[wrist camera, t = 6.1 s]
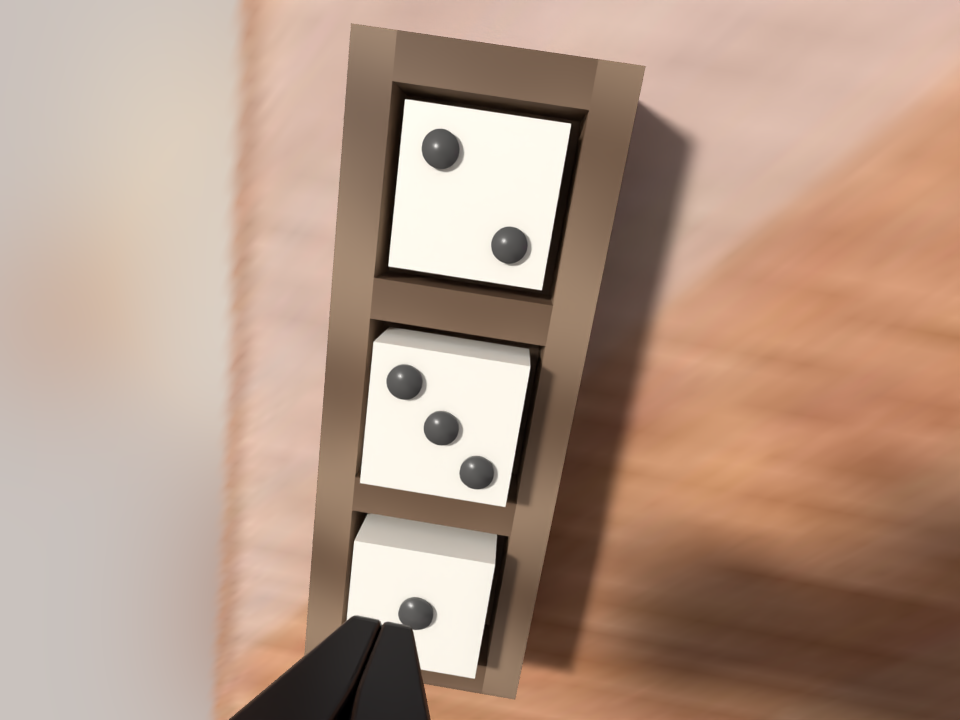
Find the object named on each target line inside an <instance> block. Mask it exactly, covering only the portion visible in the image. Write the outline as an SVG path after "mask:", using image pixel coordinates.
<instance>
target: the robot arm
mask: <svg viewBox="0 0 960 720" xmlns="http://www.w3.org/2000/svg"><path fill="white" fill-rule="evenodd" d="M229 720H431V719H430V714H429V709H428V704H427V699H426V693H425V688H424V683H423V678H422V673H421V668H420V663H419V658H418V652H417V647H416V642H415V637H414V632H413V629H412V628H411V627H410V626H408V625H404V624H399V623H394V622H389V621H387V622H384V623H383V625H382V624H381V621H380V620H378V619H374V618H369V617H364V616H359V615H354V616H352V617H350V618H349V619H348V620H347V621H345V622H344V623H343V624H342V625H341V626H339V627H338V628H337V629H336V630H335V631H334V632H332V633H331V634H330V635H329V636H328V637H326V638H325V639H324V640H323V641H322V642H320V643H319V644H318V645H317V646H316V647H315V648H313V649H312V650H311V651H310V652H309V653H307V654H306V655H305V656H304V657H303V658H301V659H300V660H299V661H298V662H297V663H296V664H294V665H293V666H292V667H291V668H290V669H288V670H287V671H286V672H285V673H284V674H282V675H281V676H280V677H279V678H278V679H277V680H275V681H274V682H273V683H272V684H271V685H269V686H268V687H267V688H266V689H265V690H263V691H262V692H261V693H260V694H259V695H258V696H256V697H255V698H254V699H253V700H252V701H250V702H249V703H248V704H247V705H246V706H244V707H243V708H242V709H241V710H240V711H239V712H237V713H236V714H235V715H234V716H233V717H231V718H230V719H229Z"/></svg>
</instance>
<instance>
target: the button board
mask: <svg viewBox="0 0 960 720" xmlns="http://www.w3.org/2000/svg"><path fill="white" fill-rule="evenodd" d="M644 71H645V66H641V65H634V64H628V63H621V62H614V61H607V60H600V59H593V58H586V57H579V56H572V55H565V54H559V53H552V52H545V51H538V50H531V49H524V48H517V47H510V46H503V45H497V44H490V43H483V42H476V41H469V40H462V39H455V38H448V37H441V36H434V35H428V34H421V33H414V32H407V31H400V30H393V29H386V28H379V27H372V26H366V25H359V24H352V23H351V32H350V45H349V59H348V73H347V86H346V100H345V113H344V127H343V140H342V154H341V168H340V181H339V195H338V208H337V222H336V235H335V249H334V262H333V276H332V290H331V303H330V317H329V330H328V344H327V357H326V371H325V385H324V398H323V412H322V425H321V439H320V452H319V466H318V480H317V493H316V507H315V520H314V534H313V547H312V561H311V575H310V588H309V602H308V615H307V629H306V642H305V655H306V654H307V653H309V652H310V651H311V650H312V649H313V648H315V647H316V646H317V645H318V644H319V643H320V642H322V641H323V640H324V639H325V638H326V637H328V636H329V635H330V634H331V633H332V632H334V631H335V630H336V629H337V628H338V627H339V626H341V625H342V624H343V623H344V622H345V621H347V611H348V601H349V590H350V580H351V570H352V559H353V549H354V540H355V538H356V536H357V534H358V532H359V530H360V528H361V526H362V524H363V522H364V520H365V518H366V516H367V514H368V513H371V514H377V515H383V516H389V517H395V518H401V519H407V520H413V521H419V522H425V523H431V524H437V525H443V526H449V527H455V528H461V529H467V530H473V531H479V532H485V533H491V534H497V543H496V559H495V568H494V574H493V579H492V585H491V590H490V596H489V602H488V607H487V613H486V618H485V624H484V630H483V635H482V641H481V646H480V652H479V658H478V663H477V669H476V674H475V679H473V678H468V677H462V676H456V675H450V674H444V673H439V672H433V671H427V670H421V673H422V678H423V683H424V684H429V685H434V686H440V687H446V688H451V689H457V690H463V691H469V692H474V693H480V694H486V695H492V696H497V697H503V698H509V699H515V698H516V693H517V688H518V684H519V679H520V674H521V669H522V664H523V659H524V654H525V650H526V645H527V640H528V635H529V630H530V625H531V620H532V616H533V611H534V606H535V601H536V596H537V591H538V586H539V582H540V577H541V572H542V567H543V562H544V557H545V552H546V548H547V543H548V538H549V533H550V528H551V523H552V518H553V513H554V509H555V504H556V499H557V494H558V489H559V484H560V479H561V475H562V470H563V465H564V460H565V455H566V450H567V445H568V441H569V436H570V431H571V426H572V421H573V416H574V411H575V407H576V402H577V397H578V392H579V387H580V382H581V377H582V373H583V368H584V363H585V358H586V353H587V348H588V343H589V339H590V334H591V329H592V324H593V319H594V314H595V309H596V305H597V300H598V295H599V290H600V285H601V280H602V275H603V271H604V266H605V261H606V256H607V251H608V246H609V241H610V237H611V232H612V227H613V222H614V217H615V212H616V207H617V202H618V198H619V193H620V188H621V183H622V178H623V173H624V168H625V164H626V159H627V154H628V149H629V144H630V139H631V134H632V130H633V125H634V120H635V115H636V110H637V105H638V100H639V96H640V91H641V86H642V81H643V76H644ZM405 99H408V100H414V101H421V102H428V103H435V104H441V105H448V106H455V107H462V108H468V109H475V110H482V111H489V112H495V113H502V114H509V115H516V116H522V117H529V118H536V119H543V120H549V121H556V122H563V123H570V124H571V128H570V134H569V140H568V145H567V151H566V156H565V162H564V168H563V173H562V179H561V185H560V190H559V196H558V202H557V207H556V213H555V218H554V224H553V230H552V235H551V241H550V247H549V252H548V258H547V264H546V269H545V275H544V281H543V286H542V290H537V289H531V288H524V287H518V286H511V285H505V284H499V283H492V282H486V281H479V280H473V279H466V278H460V277H454V276H447V275H441V274H434V273H428V272H421V271H415V270H409V269H402V268H396V267H389V266H388V264H389V254H390V244H391V234H392V224H393V214H394V205H395V195H396V185H397V175H398V165H399V155H400V145H401V135H402V125H403V115H404V105H405ZM389 327H395V328H401V329H407V330H414V331H420V332H426V333H432V334H439V335H445V336H451V337H458V338H464V339H470V340H477V341H483V342H489V343H496V344H502V345H508V346H515V347H521V348H527V349H529V354H530V372H529V377H528V383H527V389H526V394H525V400H524V405H523V411H522V417H521V422H520V428H519V433H518V439H517V445H516V450H515V456H514V462H513V467H512V473H511V478H510V484H509V490H508V495H507V501H506V506H505V507H502V506H496V505H490V504H484V503H478V502H472V501H466V500H460V499H454V498H448V497H442V496H436V495H430V494H424V493H418V492H412V491H405V490H399V489H393V488H387V487H381V486H375V485H369V484H363V483H360V477H361V467H362V456H363V446H364V436H365V425H366V415H367V405H368V394H369V384H370V374H371V363H372V353H373V343H374V341H375V340H376V339H377V338H378V337H379V336H380V335H381V334H382V333H383V332H384V331H386V330H387V329H388V328H389Z"/></svg>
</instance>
